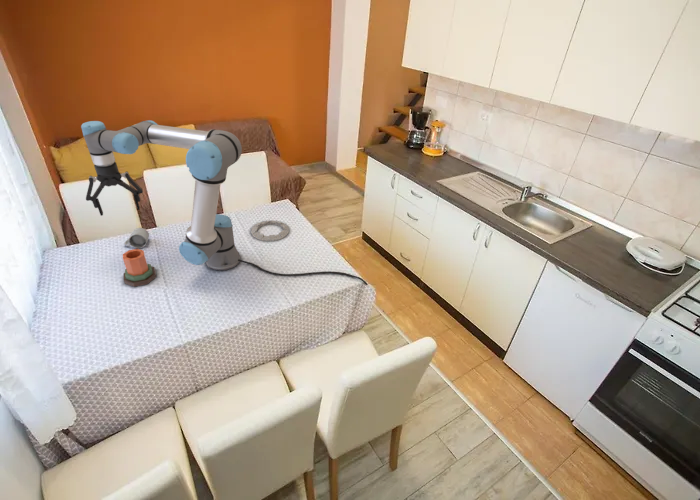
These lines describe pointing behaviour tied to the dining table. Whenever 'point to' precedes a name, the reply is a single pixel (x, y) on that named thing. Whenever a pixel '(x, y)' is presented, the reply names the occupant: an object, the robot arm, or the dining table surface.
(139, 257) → the orange hollow faceted cylinder
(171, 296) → the dining table surface
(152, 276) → the walnut ring
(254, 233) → the ring
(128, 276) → the sage ring
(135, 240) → the grey flanged cylinder
